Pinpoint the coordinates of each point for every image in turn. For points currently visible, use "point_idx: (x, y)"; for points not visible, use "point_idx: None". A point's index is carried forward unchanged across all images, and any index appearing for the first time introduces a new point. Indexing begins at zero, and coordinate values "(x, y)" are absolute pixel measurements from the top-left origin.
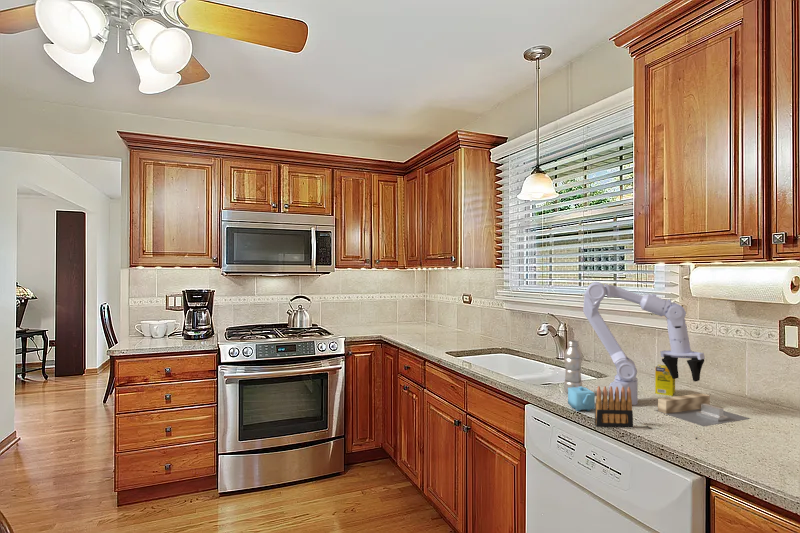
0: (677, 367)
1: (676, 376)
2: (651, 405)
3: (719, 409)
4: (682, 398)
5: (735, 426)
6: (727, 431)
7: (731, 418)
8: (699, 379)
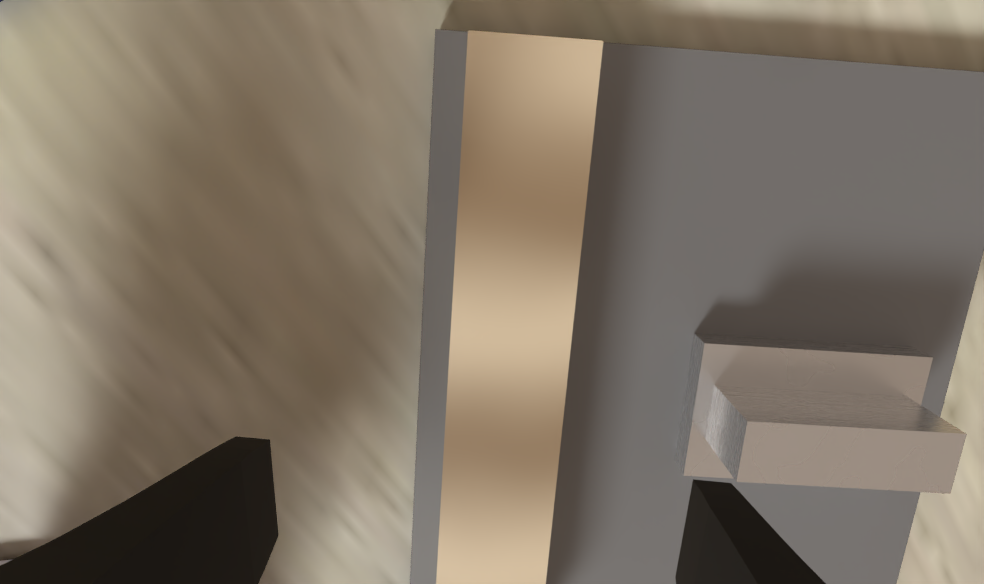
0: (126, 558)
1: (257, 504)
2: (205, 452)
3: (947, 489)
4: (536, 525)
5: (966, 361)
6: (979, 539)
7: (908, 265)
8: (741, 500)
